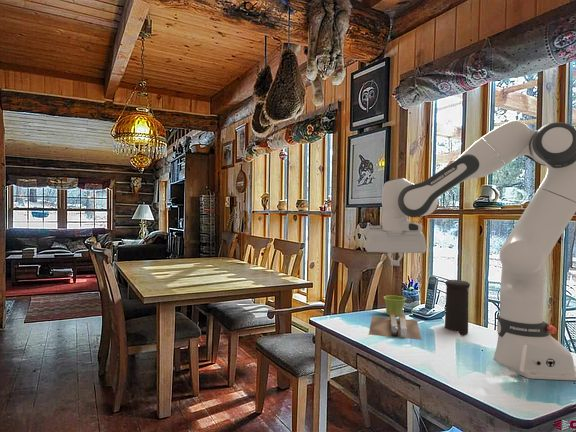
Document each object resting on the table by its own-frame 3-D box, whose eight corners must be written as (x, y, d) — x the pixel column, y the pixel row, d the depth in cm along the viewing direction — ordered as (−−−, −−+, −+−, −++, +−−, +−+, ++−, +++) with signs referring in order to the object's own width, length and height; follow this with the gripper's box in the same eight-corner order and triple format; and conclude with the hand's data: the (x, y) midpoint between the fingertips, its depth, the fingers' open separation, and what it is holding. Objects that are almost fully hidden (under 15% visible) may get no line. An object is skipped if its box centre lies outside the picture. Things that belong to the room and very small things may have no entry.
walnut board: (416, 324, 157) (416, 320, 157) (421, 343, 133) (421, 339, 133) (372, 320, 162) (372, 316, 162) (368, 338, 138) (368, 334, 138)
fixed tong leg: (405, 321, 155) (405, 313, 155) (407, 337, 134) (407, 328, 134) (398, 320, 156) (399, 312, 156) (400, 337, 135) (400, 328, 135)
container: (473, 333, 146) (474, 281, 146) (460, 337, 141) (461, 283, 141) (452, 327, 153) (453, 277, 153) (439, 331, 148) (440, 279, 148)
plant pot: (380, 318, 165) (380, 298, 165) (386, 313, 173) (386, 294, 173) (402, 321, 160) (402, 301, 160) (407, 316, 168) (407, 297, 168)
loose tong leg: (395, 319, 156) (395, 313, 156) (398, 336, 135) (398, 328, 135) (389, 319, 157) (389, 312, 157) (391, 335, 136) (391, 327, 136)
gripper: (363, 225, 132) (363, 265, 132) (426, 225, 127) (426, 267, 126) (365, 225, 138) (365, 263, 138) (425, 225, 133) (425, 265, 133)
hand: (395, 265), depth 132 cm, fingers closed
